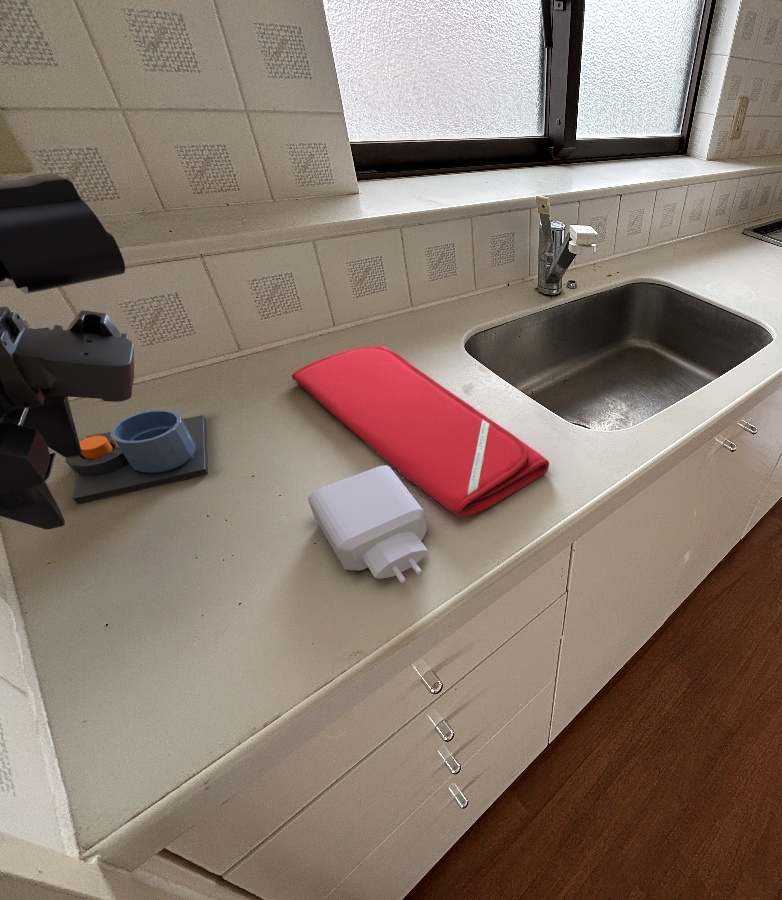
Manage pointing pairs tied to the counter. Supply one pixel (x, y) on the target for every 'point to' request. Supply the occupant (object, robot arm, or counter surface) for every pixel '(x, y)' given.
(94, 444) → the tare button
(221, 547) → the counter surface
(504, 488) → the dish drying mat
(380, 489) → the charger
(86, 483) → the scale
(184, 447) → the bowl
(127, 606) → the counter surface
